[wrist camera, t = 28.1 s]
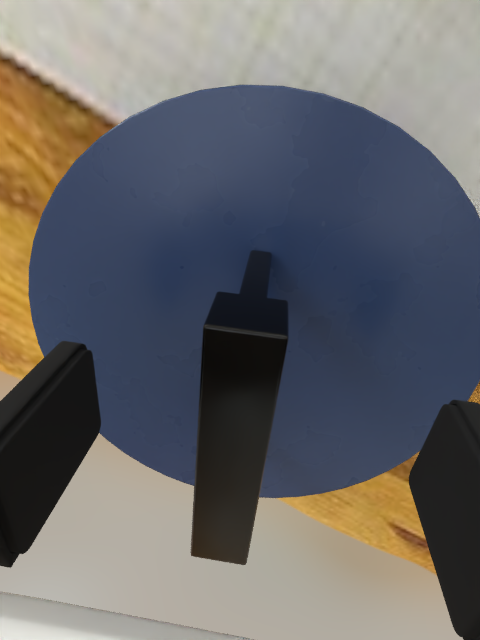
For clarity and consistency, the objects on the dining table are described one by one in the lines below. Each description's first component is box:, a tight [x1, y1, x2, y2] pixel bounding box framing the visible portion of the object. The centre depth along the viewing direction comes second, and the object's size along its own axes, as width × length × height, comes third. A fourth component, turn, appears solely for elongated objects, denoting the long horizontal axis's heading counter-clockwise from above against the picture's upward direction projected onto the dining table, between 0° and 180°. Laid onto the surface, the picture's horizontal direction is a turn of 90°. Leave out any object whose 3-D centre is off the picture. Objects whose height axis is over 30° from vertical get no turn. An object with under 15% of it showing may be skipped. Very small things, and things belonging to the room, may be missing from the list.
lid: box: [29, 85, 480, 565], centre depth 12 cm, size 17×17×6 cm
